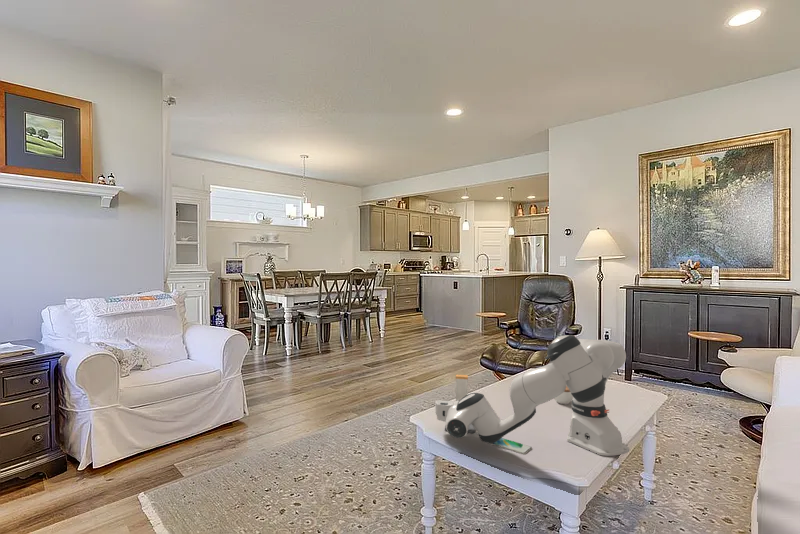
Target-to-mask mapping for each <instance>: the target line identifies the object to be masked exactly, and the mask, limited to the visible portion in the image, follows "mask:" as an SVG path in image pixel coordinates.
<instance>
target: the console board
mask: <svg viewBox="0 0 800 534" xmlns="http://www.w3.org/2000/svg"><path fill="white" fill-rule="evenodd" d="M445 430H447V429H446V423H445V426H444V431H445ZM468 433H470V434H475V433H476V430H475V428H474V427H473V425H472V424H470V426H469V429H468Z"/></svg>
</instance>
